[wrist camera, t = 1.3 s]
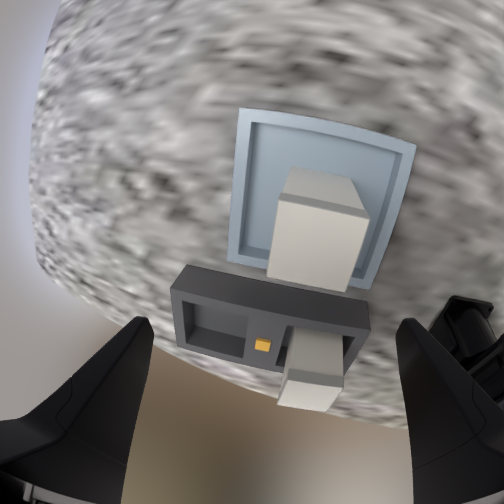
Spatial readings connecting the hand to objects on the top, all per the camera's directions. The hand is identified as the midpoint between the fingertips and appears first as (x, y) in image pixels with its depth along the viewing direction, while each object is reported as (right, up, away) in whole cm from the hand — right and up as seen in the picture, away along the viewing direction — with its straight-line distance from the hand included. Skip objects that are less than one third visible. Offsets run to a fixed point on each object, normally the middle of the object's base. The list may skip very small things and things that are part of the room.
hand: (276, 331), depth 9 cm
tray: (+4, +6, +10) cm, 12 cm away
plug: (+4, +6, +9) cm, 12 cm away
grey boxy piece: (+1, -3, +16) cm, 17 cm away
